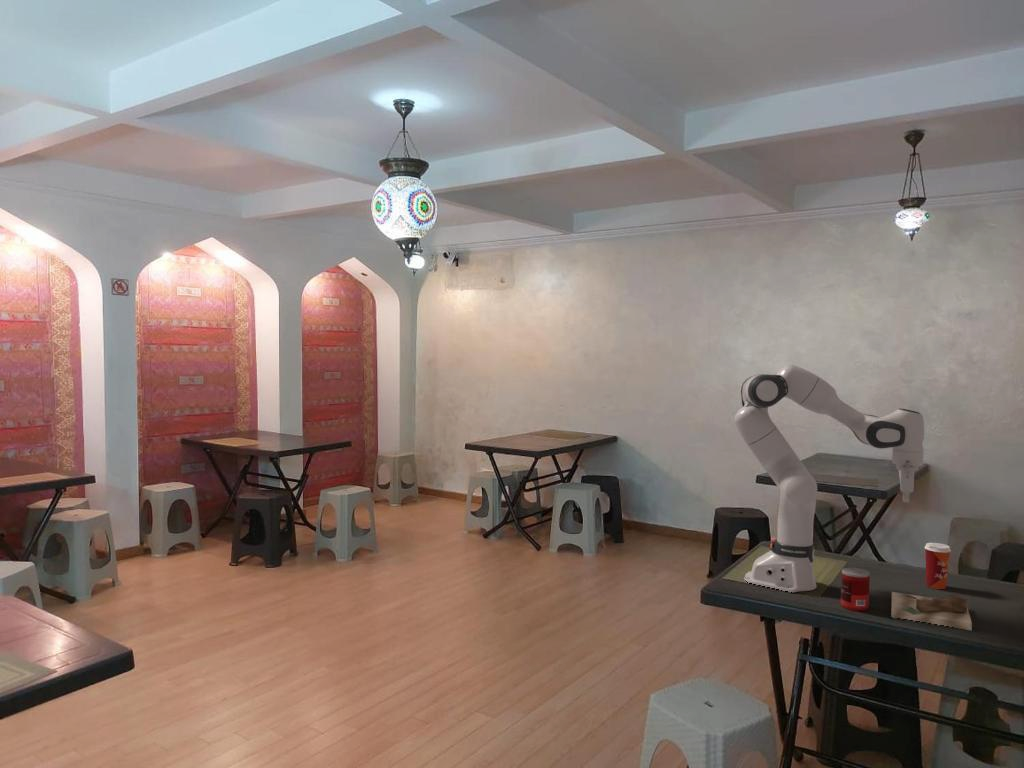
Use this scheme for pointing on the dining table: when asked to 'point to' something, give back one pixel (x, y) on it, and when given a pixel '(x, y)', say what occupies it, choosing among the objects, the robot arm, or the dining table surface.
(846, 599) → the canned food
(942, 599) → the wooden spoon
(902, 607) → the cream flat square slab
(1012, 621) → the dining table surface
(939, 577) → the paper cup
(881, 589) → the dining table surface
